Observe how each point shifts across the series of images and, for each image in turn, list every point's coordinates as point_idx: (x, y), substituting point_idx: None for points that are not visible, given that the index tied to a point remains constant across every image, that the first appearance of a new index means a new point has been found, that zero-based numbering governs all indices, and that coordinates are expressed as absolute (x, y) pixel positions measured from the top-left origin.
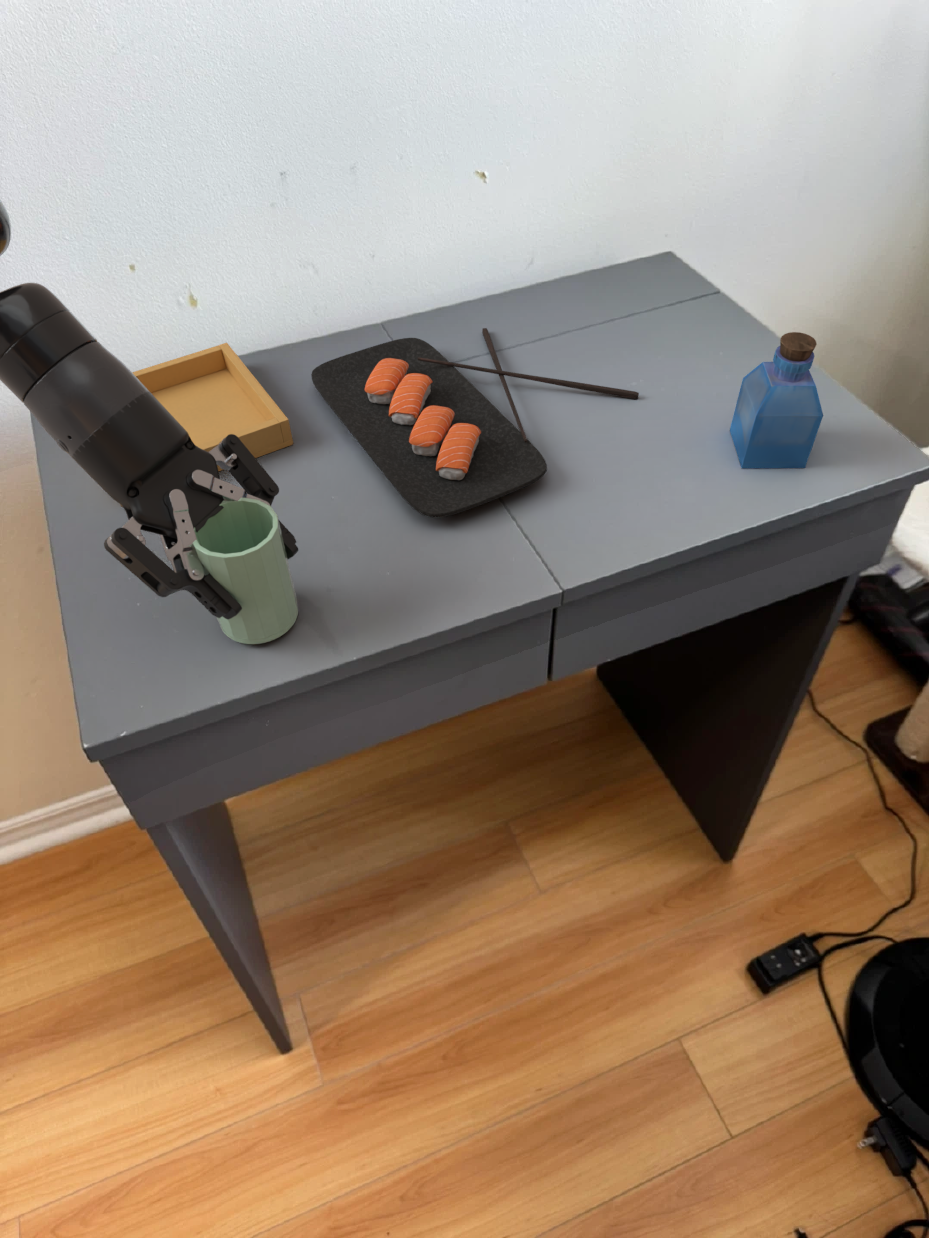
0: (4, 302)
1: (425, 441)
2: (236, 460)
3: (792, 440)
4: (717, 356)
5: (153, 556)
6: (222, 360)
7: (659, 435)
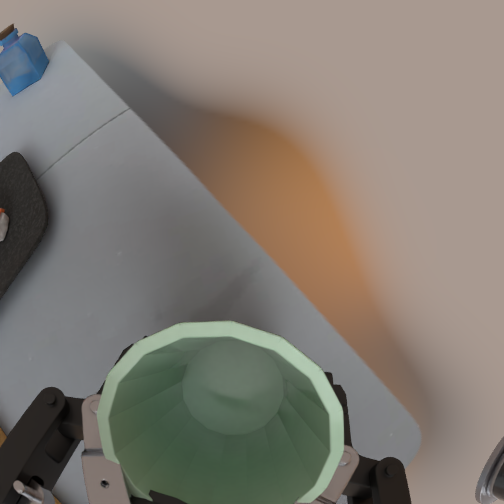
0: None
1: None
2: (25, 480)
3: (39, 53)
4: None
5: None
6: None
7: (3, 122)
